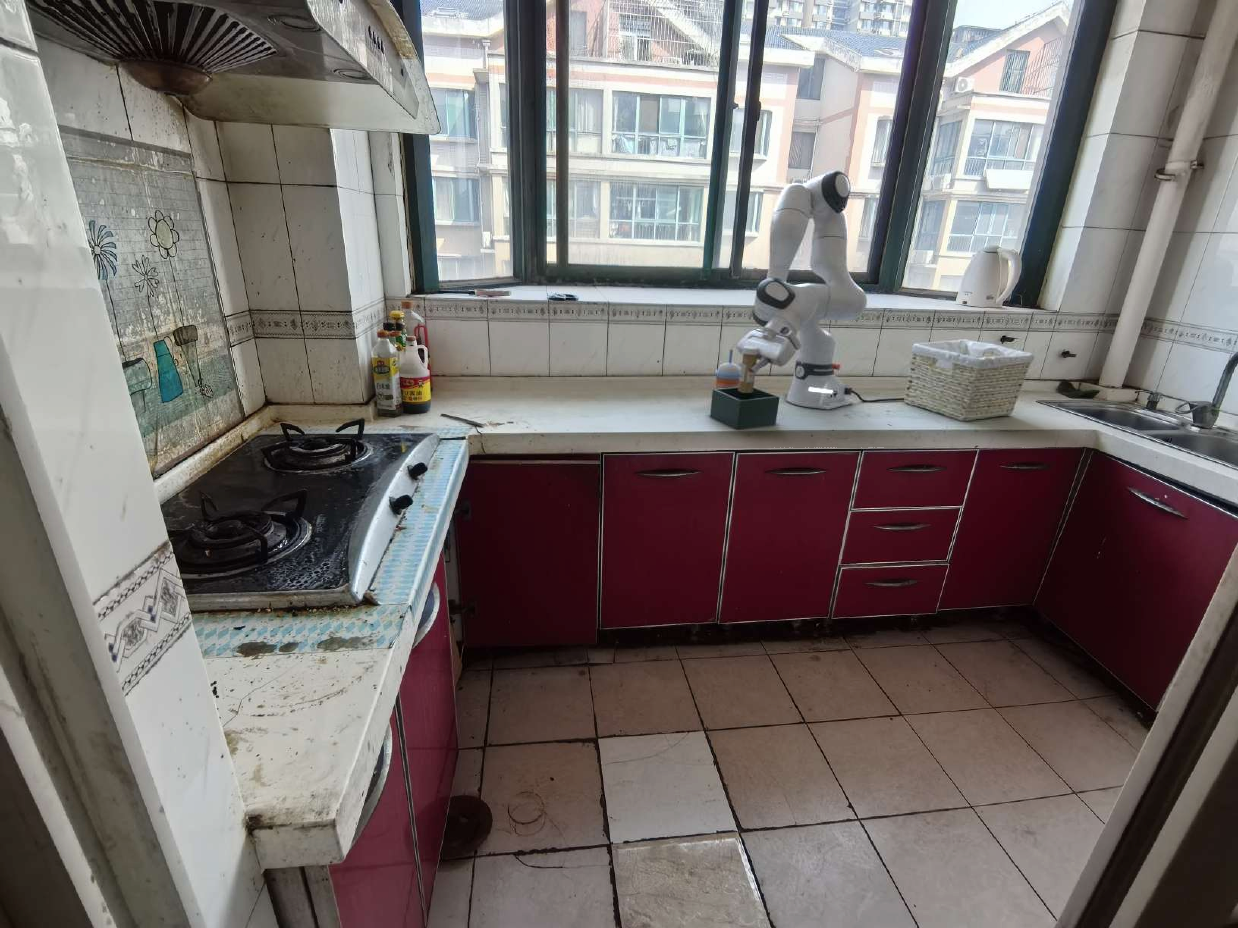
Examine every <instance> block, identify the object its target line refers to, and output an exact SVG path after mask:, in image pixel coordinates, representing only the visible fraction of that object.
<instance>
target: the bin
mask: <svg viewBox="0 0 1238 928" xmlns="http://www.w3.org/2000/svg"><path fill="white" fill-rule="evenodd" d="M738 389H739V387H732V388H722V389H716V388H713V389H712V393H711V403H710V412H709V413H710V414H709V416H710V417H711V418H713V419H715V420H717V421H719V422H720V423H723V424H725V425H727V426H729V427H730V428H733V429H735V430H744V429H752V428H759V427H766V426H774V425H776V424H777V417H778V411H779V405H780V397H781V396H779V395H776V394H773V393H770V392H768V391H766V390H763V389H761V388H758V387H755V386H753V392H752V393H741V392H739V391H738Z"/></svg>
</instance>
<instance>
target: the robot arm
mask: <svg viewBox="0 0 1238 928" xmlns="http://www.w3.org/2000/svg"><path fill="white" fill-rule="evenodd" d="M850 196H851V182H850V180H849V177H848V175H846V174H845V172H843V171H841V170H831V171H828V172H826V173H825V174H823V175H819V176H817V177H813V178H812V179H809V180H808V181H807V182H805V183H803V184H802V183H790V184H788V185H787V186H785V187H784V188H783V189H782V191H781V192H780V195H779V196H778V199H777V201H776V204H775V205H774V209H773V213H772V216H771V221H770V228H769V261H768V262H769V263H768V270H767V274H766V278H765V279H763V280H762V281H761V282H760V283H759V284H758V285H757V287H756V290H755V295H754V296H755V297H754V298H755V299H754V302H753V303H754V304H753V308H752V313H751V315H752V318H753V320H754V322H755V323H756V324H758V325H759V326H761V327H762V329H760V328H757V329H754V330H750V331H749V332H748V333H747V334H745V335H744V336H743V337H742V338H741V339H740V340H739V341H738V342H737V343H736V346H735V348H736V350H737V351H738V353H739V354H740V355H741V356H743V347H744V346H754V347H758V348H759V353H758V356H757V363H756V364H753V365H752V366H751V368H750V369H751V370H752V371H753V372H756V373H757V372H759V370H760V369H762V368H764V367H766V366H767V365H768V364H771V365H774V366H777V367H780V368H781V367H783V366H786V365H787V364H788V363H789V362H790V361H791V360H792V358H793V357H795V354H796V353H797V351H798V356H797V359H796V360H795V364H794V374H793V377H792V381H791V384H790V389H789V392H788V393H787V396H786V401H787V402H788V403H790V404H793V405H795V406H796V405H797V406H800V407H805V408H814V409H815V408H816V409H821V410H831V409H835V408H840V407H844V406H848V405H851V404H852V400H851V399H850V398H848V397H846V396H851V395H852V394H854V395H856V396H857V398H858V399H859V401H860V402H862V403H863V402H864V403H877V402H891V401H904V397H895V398H892V397H891V398H878V399H877V398H876V399H864V398H863V397H861V395H860V394H859V393H858V392H856V391H855V390H853V388H852V387H850V386H848V385H846V384H844V383H843V382H842V381H841V380H840V379H839V377H837V375H835V371H840V369H841V368H842V366H841V364H840V363H833V359H834V358H833V357H834V353H835V348H836V339H835V337H834V335H833V334H831V332H828V331H827V330H825V329H824V328H822V327H821V325H820V324H821V323H820V322H821V321H823V320H824V321H839V322H840V321H842V322H845V321H851V320H852V321H853V320H857V319H859V318H860V317H861V316H862V315H863V314H864V312H865V311H866V308H867V305H868V298H867V295H866V292H865V291H864V289H862V288H861V287H860V286H859V285H858V284H856V282H855V281H854V280H853V278H852V276H851V274H850V273H849V269H848V261H847V260H848V259H847V257H848V254H847V253H848V239H849V237H848V235H849V232H848V220H847V219H848V218H847V215H846V213H845V212H844V211H845V209H847V205H848V201H849V199H850ZM811 219H812V220H813V224H814V225H813V231H812V237H811V245H810V257H809V266H810V267H809V268H810V269H811V271H812V272H813V273H814V275H816V276H818V277H819V278H821V279H822V280H823V281H824V282H825V284H824V283H801V284H800V283H799V284H792V283H789V282H787V280H788V275H789V272H790V269H791V266H792V264H793V262H794V259H795V257H796V255H797V253H798V251H799V249H800V247H801V245H802V242H803V240H804V237H805V235H806V231H807V229H808V226H809V221H810V220H811ZM798 333H799V338H798V336H797V335H798ZM741 365H742V359H741V360H740V361H739V363H738V367H739V368H741Z"/></svg>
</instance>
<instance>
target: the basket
mask: <svg viewBox="0 0 1238 928" xmlns="http://www.w3.org/2000/svg"><path fill="white" fill-rule="evenodd" d="M986 354H988V355H990V356H985V355H986ZM992 355H996V356H992ZM1034 360H1035V354H1034V353H1032V352H1029V351H1026V352H1025V351H1023V350H1017V349H1014V348H1009V347H1005V346H1002V345H998V344H995V343H989V342H982V341H981V342H980V341H975V340H968V339H967V338H964V339H962V338H961V339H958V340H953V339H952V340H941V341H939V340H938V341H932V342H931V341H928V342H915V343H914V344H913V345H912V349H911V358H910V364H909V369H908V376H907V382H906V385H905V391H904V397H903V398H904V400H903V401H904V403H906V404H907V405H911V406H915V407H919V408H921V409H926V410H929V411H932V412H933V413H939V414H942V415H944V416H946V417H949V418H952V419H956V420H958V421H960V422H967V421H974V420H977V419H979V420H985V419H987V418H996V417H999V416H1000V417H1004V416H1011V415H1013V412H1014V411H1015V406H1016V404H1017V401H1018V399H1019V396H1020V393H1021V390H1022V388H1023V385H1024V382H1025V379H1026V376H1027V374H1028V372H1029V369H1030V366H1031V364H1032V363H1033V362H1034Z"/></svg>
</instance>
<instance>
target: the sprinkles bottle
mask: <svg viewBox="0 0 1238 928" xmlns="http://www.w3.org/2000/svg"><path fill="white" fill-rule="evenodd" d="M758 353H759V348H758V347H754V346H744V347H743V355H742V358H741V360H742V365H741V367H740V370H741V373H740V384H739V389H738V391H739V392H741V393H752V392H753V387H755V379H756V373H757V372H753V371H752V370H751V369H750V368H751V366H752V365H753V364H756V363H758V359H757V356H758Z"/></svg>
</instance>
